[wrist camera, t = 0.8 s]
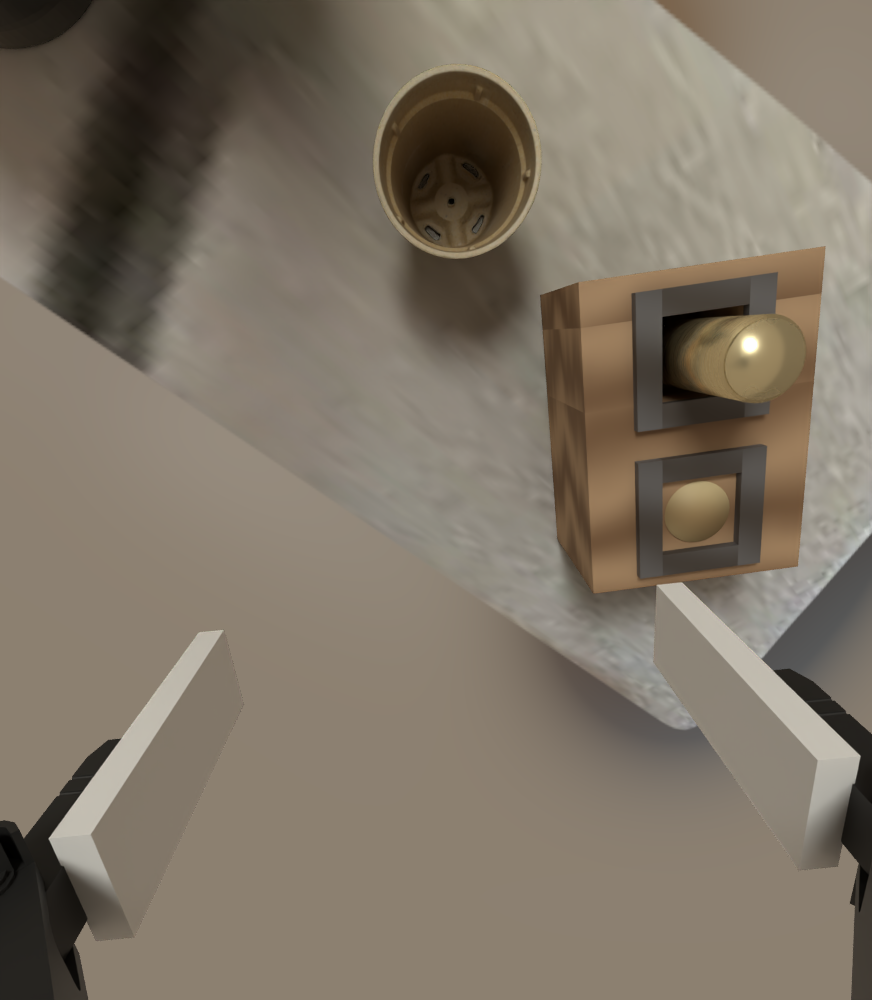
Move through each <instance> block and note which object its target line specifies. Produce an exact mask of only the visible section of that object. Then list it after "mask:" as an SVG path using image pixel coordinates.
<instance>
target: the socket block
mask: <svg viewBox="0 0 872 1000" xmlns="http://www.w3.org/2000/svg"><path fill="white" fill-rule="evenodd" d="M824 258H825V246H824V247H818V248H811V249H804V250H797V251H790V252H783V253H776V254H770V255H763V256H756V257H749V258H742V259H735V260H728V261H722V262H715V263H708V264H701V265H694V266H687V267H681V268H674V269H667V270H660V271H653V272H646V273H639V274H633V275H626V276H619V277H612V278H605V279H598V280H591V281H585V282H578V283H575V284H572V285H569V286H566V287H563V288H560V289H558V290H555V291H552V292H549V293H546V294H543V295H540V297H541V311H542V325H543V339H544V354H545V368H546V382H547V396H548V411H549V425H550V439H551V454H552V468H553V482H554V496H555V511H556V525H557V539H558V540H559V542H560V544H561V545H562V547H563V548H564V550H565V551H566V553H567V554H568V556H569V557H570V559H571V560H572V562H573V563H574V565H575V566H576V568H577V569H578V571H579V572H580V574H581V575H582V577H583V578H584V580H585V581H586V583H587V584H588V586H589V588H590V589H591V591H592V592H593V594H595V593H603V592H610V591H618V590H625V589H633V588H640V587H648V586H655V585H661V584H670V583H677V582H685V581H692V580H700V579H707V578H715V577H722V576H729V575H737V574H744V573H752V572H759V571H767V570H774V569H782V568H789V567H796V566H798V558H799V547H800V535H801V523H802V512H803V500H804V489H805V477H806V466H807V454H808V443H809V431H810V419H811V408H812V396H813V385H814V373H815V362H816V350H817V339H818V327H819V315H820V304H821V292H822V281H823V269H824ZM759 314H778V315H783V316H785V317H788V318H789V319H791V320H793V321H794V322H795V323H796V324H797V325H798V326H799V327H800V329H801V331H802V333H803V335H804V337H805V341H806V359H805V363H804V366H803V369H802V371H801V373H800V375H799V377H798V378H797V380H796V381H795V382H794V384H793V385H792V386H791V387H790V388H789V389H788V390H787V391H786V392H784V393H783V394H782V395H780V396H778V397H777V398H775V399H772V400H770V401H767V402H763V403H747V402H742V401H737V400H732V399H728V398H723V397H718V396H713V395H708V394H704V393H699V392H694V391H689V390H684V389H680V388H675V387H670V386H668V385H665V384H664V383H662V317H664V316H666V327H667V326H668V325H670V324H671V323H673V322H676V321H678V320H682V319H694V318H710V317H727V316H743V315H759Z"/></svg>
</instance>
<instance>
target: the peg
mask: <svg viewBox="0 0 872 1000" xmlns="http://www.w3.org/2000/svg"><path fill="white" fill-rule="evenodd" d="M805 359H806V341H805V337H804V335H803V333H802V331H801V329H800V327H799V326H798V325H797V324H796V323H795V322H794V321H793V320H791V319H789V318H788V317H785V316H783V315H778V314H759V315H743V316H727V317H710V318H694V319H682V320H678V321H676V322H673V323H671V324H670V325H668V326H667V327H666V328H664V329H663V330H662V383H664V384H665V385H668V386H670V387H675V388H680V389H684V390H689V391H694V392H699V393H704V394H708V395H713V396H718V397H723V398H728V399H732V400H737V401H742V402H747V403H763V402H767V401H770V400H772V399H775V398H777V397H778V396H780V395H782V394H783V393H784V392H786V391H787V390H788V389H789V388H790V387H791V386H792V385H793V384H794V382H795V381H796V380H797V378H798V377H799V375H800V373H801V371H802V369H803V366H804V363H805Z"/></svg>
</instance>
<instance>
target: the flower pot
mask: <svg viewBox="0 0 872 1000" xmlns="http://www.w3.org/2000/svg"><path fill="white" fill-rule="evenodd" d="M541 157H542V153H541V145H540V139H539V134H538V130H537V127H536V124H535V120H534V119H533V116H532V114H531V112H530V110H529V108H528V107H527V105H526V103H525V102H524V100H523V99H522V98H521V96H520V95H519V94H518V93H517V92H516V91H515V90H514V89H513V88H512V86H510V84H508V83H507V82H506V81H504V80H503V79H501V78H500V77H499V76H497V75H495V74H493V73H491V72H490V71H487V70H485V69H482V68H479V67H476V66H471V65H466V64H450V65H443V66H438V67H435V68H432V69H429V70H427V71H425V72H422V73H421V74H419V75H417V76H416V77H414V78H413V79H411V80H410V81H409V82H408V83H407V84H405V85H404V86H403V87H402V88H401V89H400V90H399V92H398V93H397V94H396V95H395V96H394V98H393V99H392V100H391V102H390V103H389V105H388V107H387V109H386V110H385V112H384V114H383V117H382V119H381V122H380V125H379V127H378V130H377V134H376V138H375V142H374V150H373V172H374V180H375V186H376V190H377V193H378V196H379V199H380V202H381V204H382V207H383V209H384V211H385V213H386V215H387V216H388V218H389V220H390V221H391V223H392V224H393V225H394V227H395V228H396V229H397V230H398V232H399V233H400V234H401V235H402V236H403V237H404V238H405V239H406V240H408V241H409V242H410V243H411V244H413V245H414V246H416V247H417V248H419V249H421V250H422V251H424V252H427V253H429V254H432V255H435V256H438V257H442V258H449V259H464V258H471V257H475V256H478V255H481V254H484V253H486V252H488V251H490V250H492V249H494V248H496V247H498V246H499V245H500V244H502V243H503V242H504V241H506V240H507V239H508V238H509V237H510V236H511V235H512V234H513V233H514V232H515V231H516V229H517V228H518V227H519V226H520V224H521V223H522V222H523V220H524V219H525V217H526V215H527V214H528V212H529V210H530V208H531V206H532V204H533V202H534V199H535V196H536V193H537V190H538V186H539V181H540V175H541V165H542V164H541ZM464 163H466V164H470V165H472V167H474V168H475V169H476V170H477V172H478V177H475V176H474V175H473V174H472V173H470V172H469V171H468V170H467V169H465V168H463V164H464ZM427 174H429V175H430V176H429V178H428V180H427V185H426V184H425V185H424V186H423V187H422V189H420V188H419V185H420V183H421V181H422V179H423V178H424V176H425V175H427ZM451 198H452V199H454V204H449V199H451ZM480 216H484V218H483V221H482V224H481V226H480V228H479V230H478V232H477V233H474V232H472V228H473V226H474V225H475V224H476V223H477V221H478V219H479V217H480ZM427 226H430V227H431V228H432V229H434V230H435V231H436V232H437V233H439V234H440V238H439V240H435V239H433V238H432V237H431V236H430V235H429V234H428V233H427V232H426V230H425V228H426V227H427Z"/></svg>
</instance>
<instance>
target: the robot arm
mask: <svg viewBox="0 0 872 1000" xmlns="http://www.w3.org/2000/svg"><path fill="white" fill-rule="evenodd" d="M91 1H92V0H0V47H1V48H23V47H30V46H35V45H38V44H41V43H44V42H47V41H49V40H51V39H53V38H55V37H57V36H59V35H60V34H62V33H63V32H65V31H66V30H67V29H68V28H70V27H71V26H72V25H73V24H74V23H75V22H76V21H77V20H78V19H79V18H80V17H81V15H82V14H83V13H84V12H85V10H86V9H87V7H88V6H89V4H90V3H91ZM653 662H654V664H655V665H656V666H657V668H658V669H659V671H660V672H661V674H662V675H663V677H664V678H665V679H666V681H667V682H668V684H669V685H670V687H671V688H672V689H673V691H674V692H675V694H676V695H677V697H678V698H679V699H680V701H681V702H682V704H683V705H684V707H685V708H686V709H687V711H688V712H689V714H690V715H691V717H692V718H693V720H694V721H695V722H696V724H697V725H698V727H699V728H700V730H701V731H702V732H703V734H704V735H705V737H706V738H707V739H708V741H709V742H710V744H711V745H712V746H713V748H714V750H715V751H716V752H717V754H718V755H719V756H720V758H721V759H722V761H723V763H724V764H725V765H726V767H727V768H728V770H729V771H730V773H731V774H732V775H733V777H734V778H735V780H736V781H737V783H738V784H739V786H740V787H741V788H742V790H743V791H744V793H745V794H746V796H747V797H748V798H749V800H750V801H751V803H752V804H753V806H754V807H755V808H756V810H757V811H758V813H759V814H760V816H761V817H762V818H763V820H764V821H765V823H766V824H767V826H768V827H769V829H770V830H771V831H772V833H773V834H774V836H775V837H776V839H777V840H778V841H779V843H780V844H781V846H782V847H783V849H784V850H785V851H786V853H787V854H788V856H789V857H790V859H791V860H792V861H793V863H794V864H795V866H796V867H797V869H798V870H808V869H818V868H828V867H837V866H838V863H839V858H840V853H841V848H842V844H843V845H844V846H845V847H846V848H847V849H848V851H849V852H850V853H851V854H852V855H853V857H854V858H855V859H856V860H857V862H858V863H859V865H858V869H857V874H856V879H855V883H854V887H853V892H852V896H851V901H850V904H852V905H854V906H855V918H854V944H853V946H854V947H853V968H852V993H851V994H852V995H851V1000H872V734H871V733H870V732H869V731H868V730H866V729H865V728H864V727H863V726H862V725H861V724H860V723H859V722H858V721H856V720H855V719H854V718H853V717H852V716H851V715H850V714H846V711H845V710H844V709H843V708H842V707H841V706H840V705H839V704H838V703H836V702H835V701H832V700H831V697H830V696H829V695H828V694H826V693H825V692H824V691H823V690H822V689H821V688H820V687H819V686H818V685H816V684H815V683H814V682H813V681H811V680H809V679H808V678H806V677H804V676H802V675H800V674H798V673H797V672H795V671H793V670H791V669H782V670H771V668H769V667H768V666H767V665H766V664H765V663H764V662H763V661H762V660H761V659H760V658H759V657H758V656H757V655H756V654H755V653H754V652H753V651H752V650H751V649H750V648H749V647H748V646H747V645H746V644H745V643H744V642H743V641H742V640H741V639H740V638H739V637H738V636H737V635H736V634H735V633H734V632H732V631H731V630H730V629H729V628H728V627H727V626H726V625H725V624H724V623H723V622H722V621H721V620H720V619H719V618H718V617H717V616H716V615H715V614H714V613H713V612H712V611H711V610H710V609H709V608H708V607H707V606H706V605H705V604H704V603H703V602H702V601H701V600H700V599H699V598H698V597H696V596H695V595H694V594H693V593H692V592H691V591H690V590H689V589H688V588H687V587H686V586H685V585H684V584H683V583H682V582H680V583H671V584H661V585H657V587H656V612H655V636H654V661H653ZM243 705H244V702H243V699H242V695H241V691H240V688H239V684H238V680H237V676H236V673H235V669H234V665H233V661H232V658H231V654H230V650H229V647H228V643H227V639H226V635H225V631H224V630H217V631H207V632H199V633H198V634H197V636H196V637H195V638H194V640H193V641H192V643H191V644H190V645H189V647H188V648H187V650H186V651H185V652H184V654H183V655H182V656H181V658H180V659H179V660H178V662H177V663H176V664H175V666H174V667H173V669H172V670H171V671H170V673H169V674H168V675H167V677H166V678H165V680H164V681H163V682H162V684H161V685H160V687H159V688H158V689H157V691H156V692H155V693H154V695H153V696H152V698H151V699H150V700H149V702H148V703H147V704H146V706H145V707H144V709H143V710H142V711H141V713H140V714H139V715H138V717H137V718H136V719H135V721H134V722H133V723H132V725H131V726H130V728H129V729H128V730H127V732H126V733H125V734H124V736H123V737H122V739H113V740H108V741H106V742H105V743H104V744H103V745H102V746H101V747H99V748H98V749H97V750H96V751H94V752H93V753H92V754H91V755H90V756H88V757H87V758H86V759H85V761H84V762H83V763H82V765H81V766H80V767H79V768H78V770H77V771H76V772H75V774H74V775H73V776H72V780H69V781H68V783H67V784H66V785H65V786H64V788H63V789H62V790H61V792H60V795H59V796H57V797H56V798H55V799H54V801H53V802H52V803H51V805H50V806H49V807H48V808H47V810H46V811H45V812H44V813H43V815H42V816H41V817H40V819H39V820H38V821H37V822H36V824H35V825H34V826H33V828H32V829H31V830H30V831H29V833H28V834H27V835H26V837H25V838H24V839H23V837H22V835H21V832H20V830H19V829H18V827H17V825H16V824H15V823H14V822H10V821H5V820H4V821H0V1000H88V996H87V991H86V986H85V981H84V976H83V971H82V965H81V960H80V955H79V952H78V950H77V948H76V946H75V944H74V943H75V941H76V939H77V937H78V935H79V934H80V932H81V930H82V928H83V926H84V925H85V923H86V921H87V923H88V925H89V927H90V929H91V931H92V934H93V936H94V938H95V940H96V941H103V940H113V939H123V938H132V937H135V935H136V933H137V931H138V929H139V927H140V925H141V922H142V920H143V918H144V916H145V914H146V912H147V910H148V907H149V905H150V903H151V901H152V899H153V897H154V895H155V893H156V890H157V888H158V886H159V884H160V882H161V880H162V878H163V876H164V873H165V871H166V869H167V867H168V865H169V863H170V861H171V859H172V856H173V854H174V852H175V850H176V848H177V846H178V844H179V842H180V839H181V837H182V835H183V833H184V831H185V829H186V826H187V824H188V822H189V820H190V818H191V816H192V814H193V812H194V809H195V807H196V805H197V803H198V801H199V799H200V797H201V794H202V793H203V790H204V788H205V786H206V784H207V782H208V780H209V777H210V775H211V773H212V771H213V769H214V767H215V765H216V763H217V761H218V758H219V756H220V754H221V752H222V750H223V748H224V745H225V744H226V741H227V739H228V737H229V735H230V733H231V731H232V729H233V726H234V724H235V722H236V720H237V718H238V716H239V714H240V712H241V709H242V707H243Z"/></svg>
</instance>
